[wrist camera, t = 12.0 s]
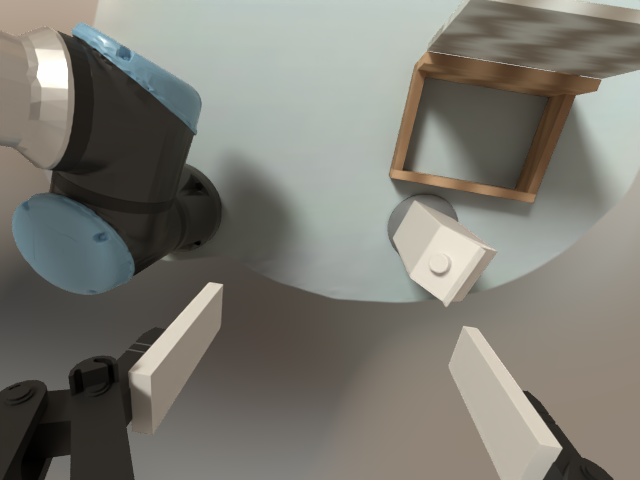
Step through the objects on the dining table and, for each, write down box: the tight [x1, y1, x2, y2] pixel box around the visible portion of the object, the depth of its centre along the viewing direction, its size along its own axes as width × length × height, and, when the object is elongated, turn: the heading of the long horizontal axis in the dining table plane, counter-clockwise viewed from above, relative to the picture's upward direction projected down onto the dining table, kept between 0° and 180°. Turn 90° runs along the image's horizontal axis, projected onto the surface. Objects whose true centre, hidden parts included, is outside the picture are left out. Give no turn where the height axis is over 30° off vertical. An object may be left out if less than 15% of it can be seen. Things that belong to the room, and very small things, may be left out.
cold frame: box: [389, 0, 640, 203], centre depth 34 cm, size 20×17×21 cm
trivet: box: [388, 194, 458, 251], centre depth 49 cm, size 11×11×1 cm
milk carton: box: [393, 201, 497, 307], centre depth 40 cm, size 7×7×19 cm
